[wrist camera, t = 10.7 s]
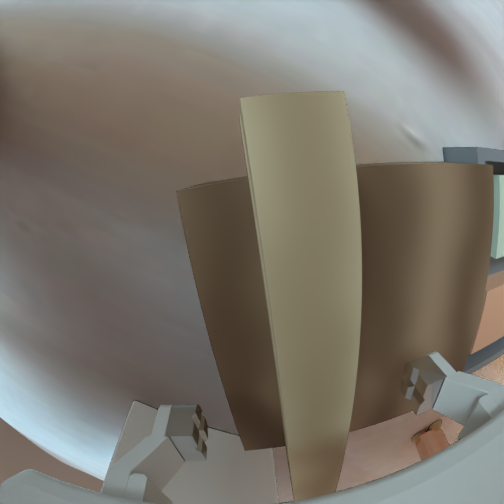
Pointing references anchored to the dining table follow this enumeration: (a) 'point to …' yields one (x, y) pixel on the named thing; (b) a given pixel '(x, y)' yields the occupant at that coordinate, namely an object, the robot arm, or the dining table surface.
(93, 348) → the dining table surface
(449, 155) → the box
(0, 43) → the dining table surface
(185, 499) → the gable box
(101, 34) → the dining table surface
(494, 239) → the sage tile
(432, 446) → the grandmother figurine
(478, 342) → the terracotta tile
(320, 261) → the bar
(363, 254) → the dark wooden square block
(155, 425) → the robot arm
